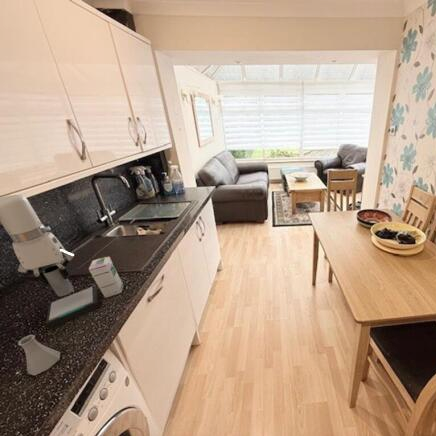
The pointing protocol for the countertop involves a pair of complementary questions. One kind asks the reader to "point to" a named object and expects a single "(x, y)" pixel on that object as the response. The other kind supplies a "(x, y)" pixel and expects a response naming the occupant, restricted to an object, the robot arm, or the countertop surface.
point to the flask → (38, 355)
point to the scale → (72, 306)
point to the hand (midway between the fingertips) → (57, 279)
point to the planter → (57, 281)
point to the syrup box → (106, 276)
